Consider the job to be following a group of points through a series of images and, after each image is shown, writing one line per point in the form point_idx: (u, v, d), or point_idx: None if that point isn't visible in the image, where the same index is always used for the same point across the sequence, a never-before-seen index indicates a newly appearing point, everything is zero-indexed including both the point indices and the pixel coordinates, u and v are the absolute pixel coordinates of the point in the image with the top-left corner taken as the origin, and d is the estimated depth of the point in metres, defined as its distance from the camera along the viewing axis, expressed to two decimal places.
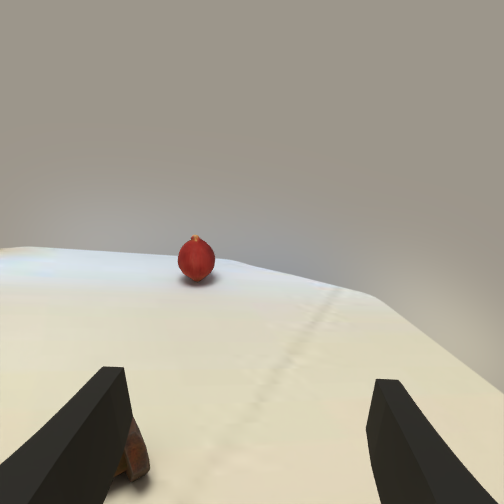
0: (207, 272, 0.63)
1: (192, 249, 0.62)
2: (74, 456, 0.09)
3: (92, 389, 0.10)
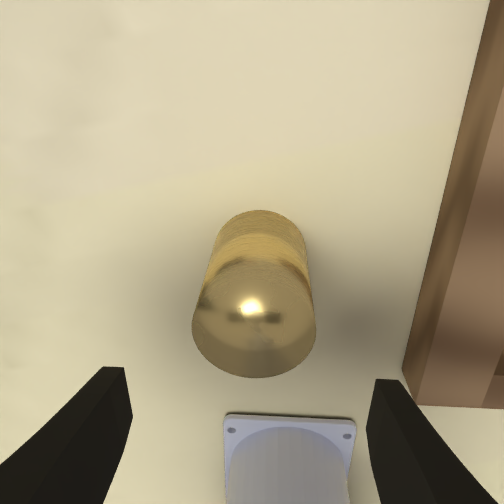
0: None
1: None
2: (74, 456, 0.09)
3: (92, 389, 0.10)
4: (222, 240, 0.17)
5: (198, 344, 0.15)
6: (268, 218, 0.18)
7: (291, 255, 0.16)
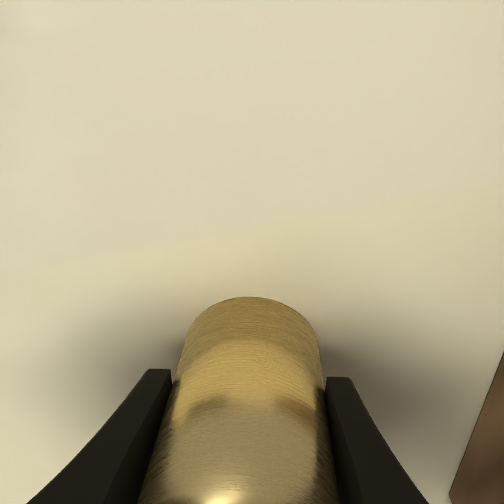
0: None
1: None
2: (133, 459, 0.09)
3: (143, 391, 0.10)
4: (191, 354, 0.11)
5: None
6: (263, 315, 0.12)
7: (301, 397, 0.10)
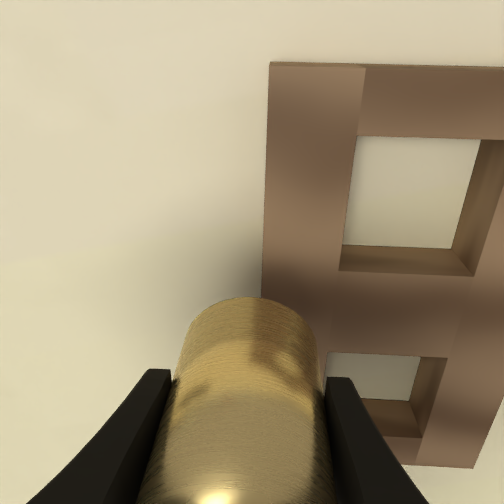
0: None
1: None
2: (133, 459, 0.09)
3: (143, 391, 0.10)
4: (192, 353, 0.11)
5: None
6: (265, 315, 0.12)
7: (302, 399, 0.10)
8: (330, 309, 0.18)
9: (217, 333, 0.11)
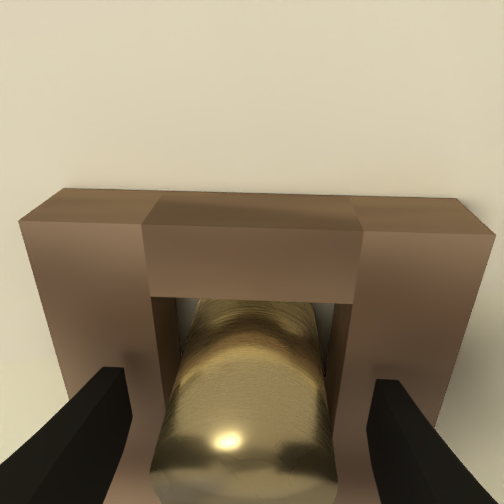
0: None
1: None
2: (74, 456, 0.09)
3: (92, 389, 0.10)
4: (204, 319, 0.12)
5: (159, 494, 0.10)
6: None
7: (302, 356, 0.11)
8: None
9: (226, 302, 0.13)
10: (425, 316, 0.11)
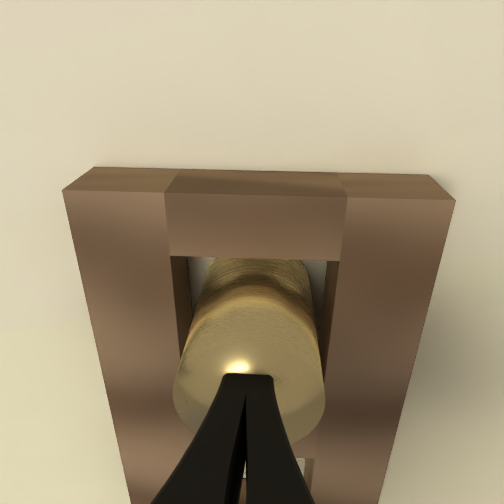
0: None
1: None
2: (232, 465, 0.09)
3: (229, 396, 0.10)
4: (214, 277, 0.15)
5: (180, 411, 0.12)
6: None
7: (297, 303, 0.13)
8: None
9: (233, 263, 0.15)
10: (400, 272, 0.13)
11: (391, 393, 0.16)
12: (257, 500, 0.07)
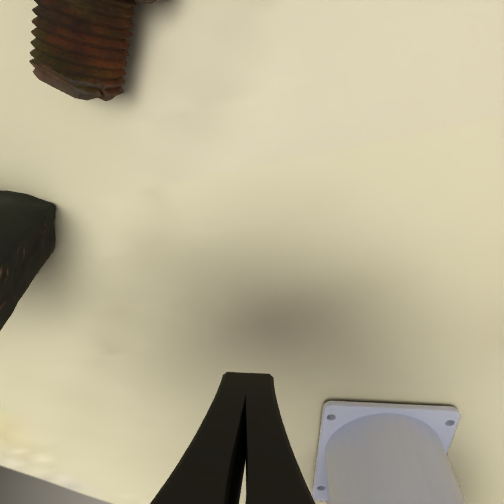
0: None
1: None
2: (232, 465, 0.09)
3: (229, 396, 0.10)
4: None
5: None
6: None
7: None
8: None
9: None
10: None
11: None
12: (257, 500, 0.07)
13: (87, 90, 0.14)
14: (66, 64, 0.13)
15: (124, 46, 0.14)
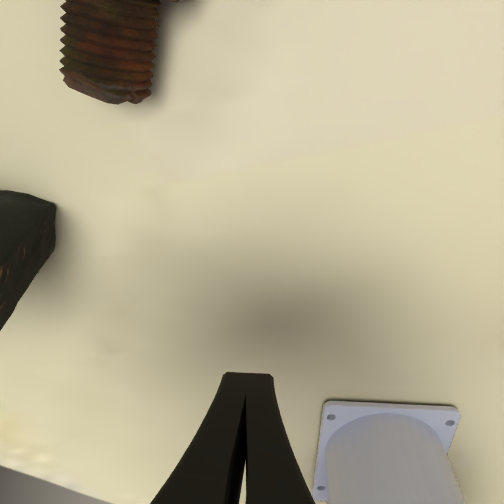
0: None
1: None
2: (232, 465, 0.09)
3: (229, 396, 0.10)
4: None
5: None
6: None
7: None
8: None
9: None
10: None
11: None
12: (257, 500, 0.07)
13: (118, 94, 0.14)
14: (97, 69, 0.14)
15: (151, 47, 0.14)
